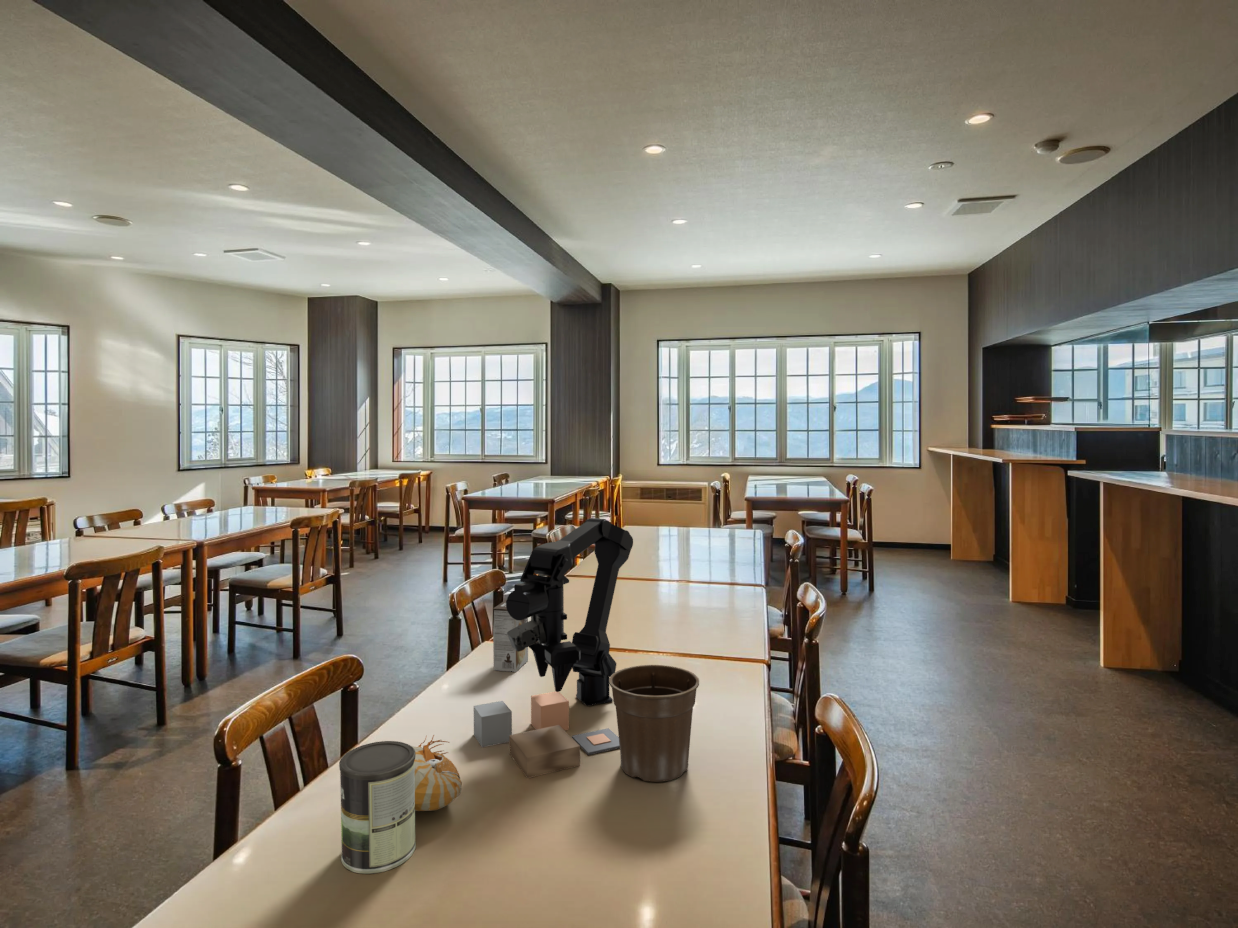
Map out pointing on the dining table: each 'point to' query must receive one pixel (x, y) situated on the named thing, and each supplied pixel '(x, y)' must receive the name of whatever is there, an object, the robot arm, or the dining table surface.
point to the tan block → (544, 751)
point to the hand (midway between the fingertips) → (550, 683)
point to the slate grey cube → (492, 723)
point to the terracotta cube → (549, 710)
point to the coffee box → (506, 641)
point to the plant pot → (654, 719)
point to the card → (597, 741)
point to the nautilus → (434, 779)
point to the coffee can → (377, 806)
